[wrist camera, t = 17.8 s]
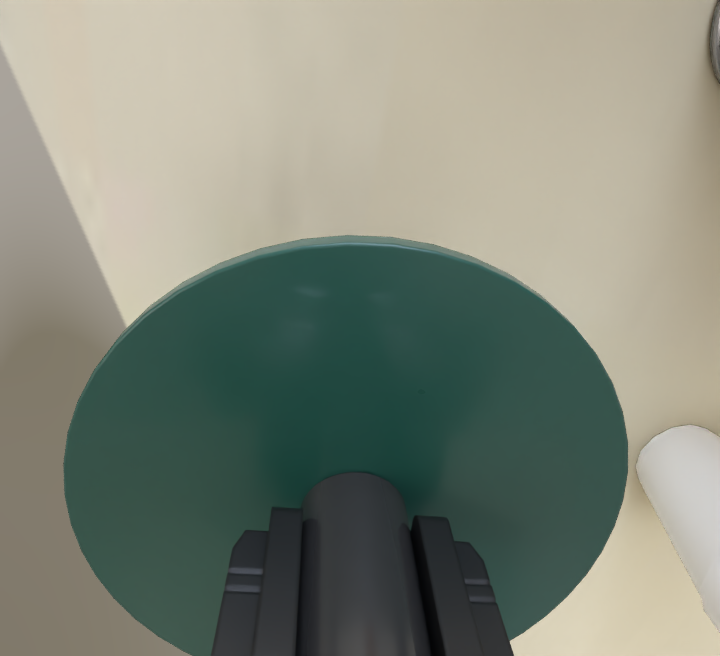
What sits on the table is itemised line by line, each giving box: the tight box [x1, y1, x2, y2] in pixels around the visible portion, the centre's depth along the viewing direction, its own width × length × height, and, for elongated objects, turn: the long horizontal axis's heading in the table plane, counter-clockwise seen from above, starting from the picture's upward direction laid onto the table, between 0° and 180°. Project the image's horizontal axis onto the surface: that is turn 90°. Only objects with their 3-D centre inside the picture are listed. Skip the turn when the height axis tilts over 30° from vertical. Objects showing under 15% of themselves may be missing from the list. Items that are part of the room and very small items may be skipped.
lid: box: [63, 235, 628, 656], centre depth 12 cm, size 14×14×6 cm
